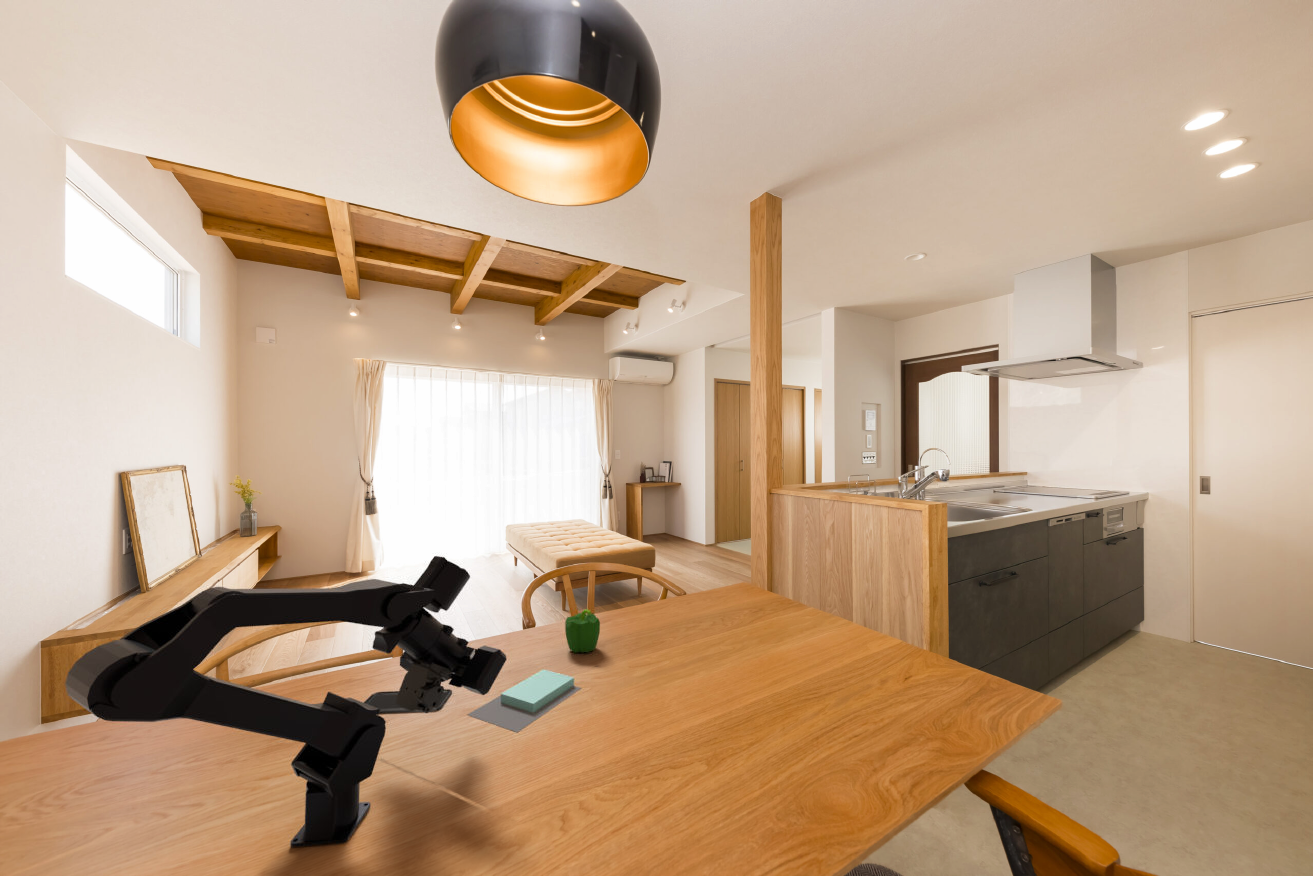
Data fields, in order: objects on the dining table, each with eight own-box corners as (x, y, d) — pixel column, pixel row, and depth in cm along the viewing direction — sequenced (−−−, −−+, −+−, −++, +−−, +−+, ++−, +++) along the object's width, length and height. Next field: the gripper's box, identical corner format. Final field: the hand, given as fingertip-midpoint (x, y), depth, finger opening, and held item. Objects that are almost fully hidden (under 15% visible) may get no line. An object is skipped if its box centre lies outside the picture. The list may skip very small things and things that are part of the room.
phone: (374, 692, 96) (453, 689, 97) (374, 697, 96) (453, 694, 97) (353, 712, 88) (439, 709, 89) (352, 719, 88) (439, 715, 89)
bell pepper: (561, 646, 121) (561, 605, 121) (593, 641, 124) (593, 601, 125) (570, 659, 113) (570, 615, 114) (604, 653, 117) (604, 611, 117)
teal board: (533, 703, 89) (574, 677, 99) (500, 693, 92) (543, 669, 103) (533, 712, 89) (573, 685, 99) (500, 702, 92) (543, 677, 103)
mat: (517, 734, 82) (517, 732, 82) (466, 717, 88) (466, 714, 88) (581, 690, 98) (581, 688, 98) (535, 677, 104) (535, 675, 104)
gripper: (347, 677, 73) (412, 719, 82) (431, 708, 64) (493, 751, 73) (398, 609, 80) (452, 655, 89) (480, 628, 71) (530, 677, 81)
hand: (479, 683), depth 83 cm, fingers closed
